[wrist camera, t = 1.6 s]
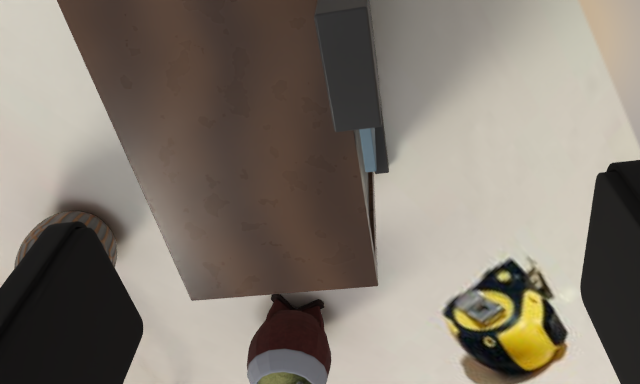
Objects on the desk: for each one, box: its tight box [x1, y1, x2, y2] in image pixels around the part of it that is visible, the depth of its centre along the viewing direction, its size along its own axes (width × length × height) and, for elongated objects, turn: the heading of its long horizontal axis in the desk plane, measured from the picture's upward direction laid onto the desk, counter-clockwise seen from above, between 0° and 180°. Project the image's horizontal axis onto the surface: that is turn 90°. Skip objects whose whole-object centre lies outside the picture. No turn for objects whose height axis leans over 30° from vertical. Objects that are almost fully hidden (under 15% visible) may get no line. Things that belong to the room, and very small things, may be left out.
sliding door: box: [314, 0, 382, 172], centre depth 24 cm, size 2×9×16 cm, turn 10°
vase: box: [14, 211, 117, 269], centre depth 41 cm, size 7×7×9 cm
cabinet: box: [57, 0, 389, 301], centre depth 30 cm, size 12×18×12 cm
